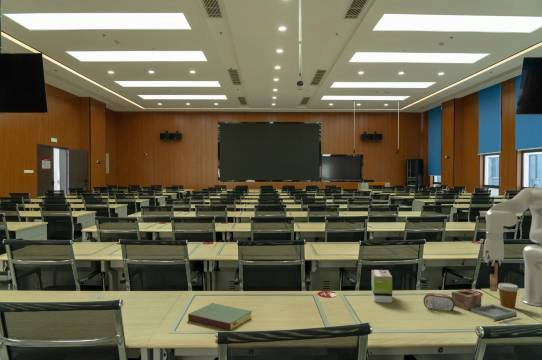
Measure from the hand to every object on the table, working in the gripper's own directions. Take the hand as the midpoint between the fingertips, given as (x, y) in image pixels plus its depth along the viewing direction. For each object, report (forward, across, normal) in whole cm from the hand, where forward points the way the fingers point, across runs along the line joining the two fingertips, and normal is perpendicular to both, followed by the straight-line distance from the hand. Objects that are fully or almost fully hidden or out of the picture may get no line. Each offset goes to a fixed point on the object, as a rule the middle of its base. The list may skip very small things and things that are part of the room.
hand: (493, 273), depth 204 cm
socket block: (+21, +3, -13) cm, 25 cm away
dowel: (+9, 0, 0) cm, 9 cm away
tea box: (+22, +32, -45) cm, 59 cm away
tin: (+22, +19, -16) cm, 33 cm away
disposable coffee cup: (+21, -18, -4) cm, 28 cm away
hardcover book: (+23, +125, -52) cm, 137 cm away
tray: (+21, 0, 0) cm, 21 cm away
